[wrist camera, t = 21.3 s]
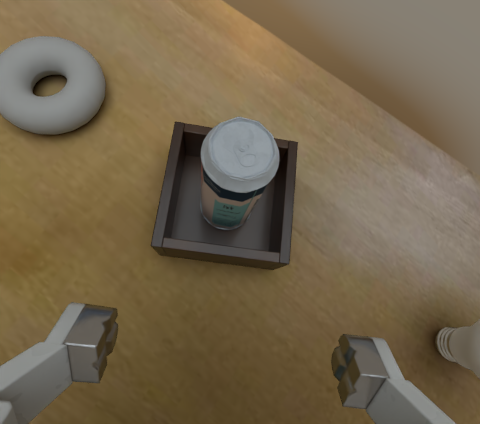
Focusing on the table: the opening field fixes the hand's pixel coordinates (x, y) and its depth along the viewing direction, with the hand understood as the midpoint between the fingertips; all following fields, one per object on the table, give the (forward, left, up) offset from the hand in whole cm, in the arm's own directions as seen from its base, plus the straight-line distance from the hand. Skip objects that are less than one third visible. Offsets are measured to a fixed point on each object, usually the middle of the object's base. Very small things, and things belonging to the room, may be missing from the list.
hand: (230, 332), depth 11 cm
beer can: (0, -10, -16) cm, 19 cm away
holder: (0, -10, -17) cm, 19 cm away
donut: (+18, -19, -17) cm, 31 cm away
